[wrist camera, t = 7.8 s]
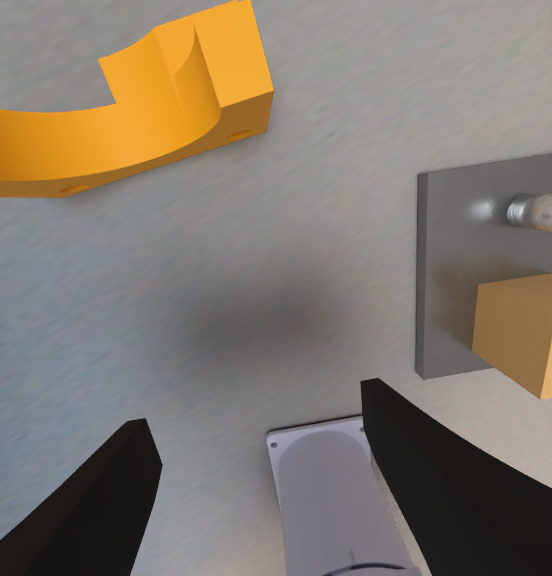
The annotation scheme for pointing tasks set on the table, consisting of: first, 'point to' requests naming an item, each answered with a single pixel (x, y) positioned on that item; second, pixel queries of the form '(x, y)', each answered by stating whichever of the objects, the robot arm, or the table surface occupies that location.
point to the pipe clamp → (147, 108)
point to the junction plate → (475, 250)
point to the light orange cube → (517, 330)
